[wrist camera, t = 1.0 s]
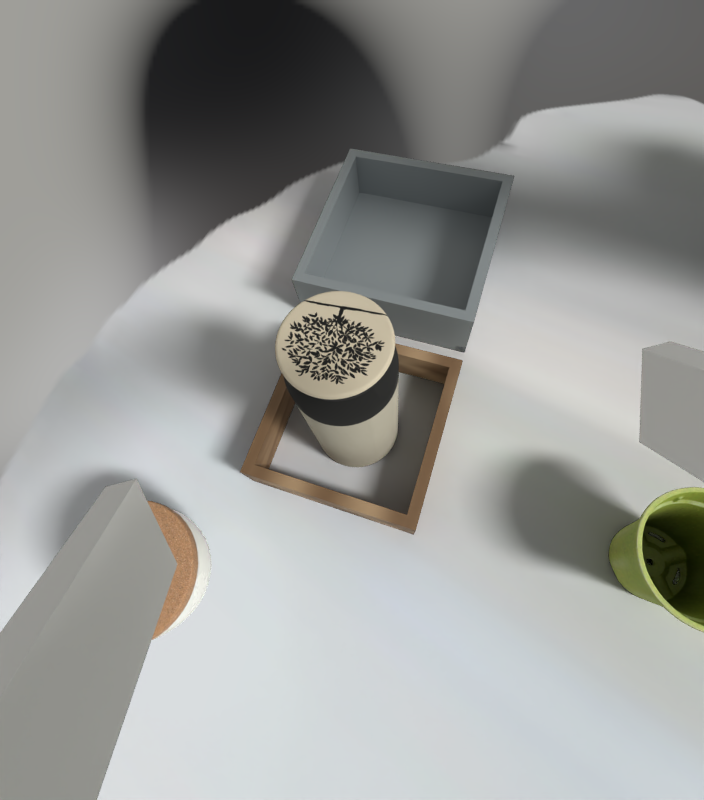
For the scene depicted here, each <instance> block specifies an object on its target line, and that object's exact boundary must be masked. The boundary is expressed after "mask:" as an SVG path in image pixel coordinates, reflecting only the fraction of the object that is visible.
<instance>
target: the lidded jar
mask: <svg viewBox="0 0 704 800" xmlns="http://www.w3.org/2000/svg"><path fill="white" fill-rule="evenodd" d="M147 502H148V504H149V506H150V508H151V510H152V512H153V514H154V516H155V518H156V520H157V522H158V524H159V527H160V529H161V531H162V533H163V535H164V537H165V539H166V541H167V543H168V545H169V547H170V549H171V552H172V554H173V556H174V558H175V560H176V562H177V567H176V570H175V573H174V576H173V579H172V581H171V584H170V587H169V590H168V593H167V596H166V599H165V602H164V605H163V608H162V611H161V614H160V616H159V619H158V622H157V625H156V628H155V631H154V634H153V637H152V640H153V639H156V638H159V637H161V636H163V635H165V634H166V633H168V632H170V631H171V630H173V629H175V628H176V627H177V626H179V625H180V624H181V623H182V622H184V621H185V620H186V619H187V618H188V617H189V616H190V615H191V614H192V613H193V612H194V610H195V609H196V608H197V606H198V605H199V603H200V602H201V600H202V598H203V596H204V594H205V592H206V589H207V587H208V584H209V579H210V575H211V554H210V549H209V546H208V543H207V540H206V538H205V536H204V535H203V533H202V531H201V530H200V529H199V528H198V527H197V526H196V524H195V523H194V522H193V521H191V520H190V519H189V518H188V517H186V516H185V515H183V514H181V513H179V512H177V511H176V510H173V509H171V508H168V507H167V506H165V505H162V504H159V503H156V502H153V501H147Z"/></svg>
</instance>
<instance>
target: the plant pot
mask: <svg viewBox="0 0 704 800" xmlns="http://www.w3.org/2000/svg"><path fill="white" fill-rule="evenodd" d="M649 532H652V533H654V534H656V535H660V536H661V537H663V538H664V539H665V542H662V541H660V540H658V539H657V538H655V537H653V536H650V535H649V534H648V533H649ZM647 559H651V560H652V561H653V564H652V565H649V564H648V563H647ZM609 560H610V564H611V566H612V568H613V571H614V573H615V575H616V577H617V579H618V581H619V582H620V583H621V585H622V586H623V587H624V588H625V589H627V590H628V591H629V592H630V593H632V594H633V595H635V596H637V597H639V598H641V599H644V600H647V601H649V602H652V603H655V604H657V605H660V606H662V607H664V608H665V609H666V610H667V611H668V612H670V613H671V614H672V615H673V616H674V617H676V618H677V619H679V620H680V621H682V622H683V623H685V624H687V625H688V626H690V627H692V628H694V629H697V630H699V631H701V632H704V488H699V487H689V488H681V489H676V490H673V491H670V492H667V493H665V494H663V495H661V496H660V497H658V498H656V499H655V500H654V501H653V502H652V503H651V504H650V505H649V506H648V507H647V508H646V509H645V511H644V512H643V514H642V515H641V517H640V519H638V520H637V521H635V522H633V523H631V524H630V525H628V526H626V527H624V528H623V529H621V530H620V531H619V532H618V533H617V534H616V535H615V536H614V538H613V540H612V542H611V544H610V548H609ZM677 569H679V571H680V579H679V581H678V583H677V584H675V585H674V584H673V583H672V581H673V580H674V578H675V576H676V572H677V571H678V570H677Z"/></svg>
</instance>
